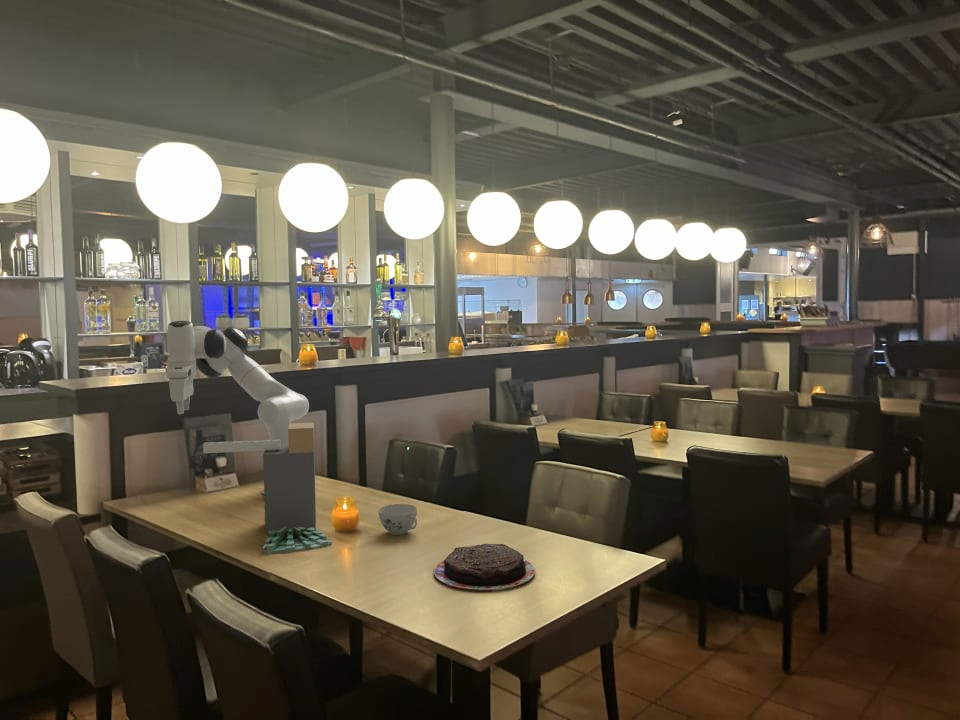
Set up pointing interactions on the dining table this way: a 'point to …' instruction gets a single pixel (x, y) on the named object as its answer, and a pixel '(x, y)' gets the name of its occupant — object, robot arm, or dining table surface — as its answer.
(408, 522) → the teacup
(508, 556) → the chocolate cake
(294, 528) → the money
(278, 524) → the pedestal
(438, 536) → the dining table surface
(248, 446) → the light grey bar
